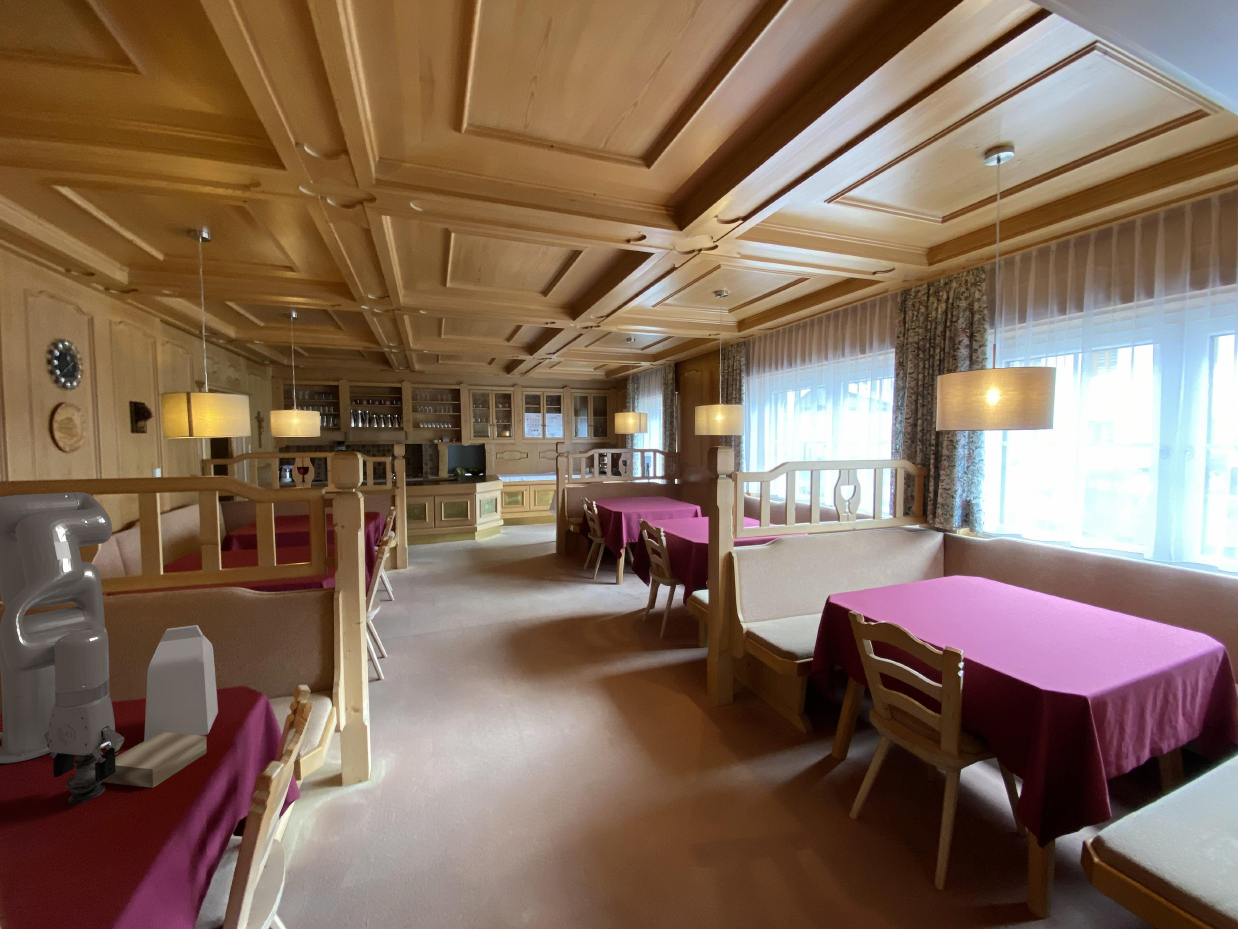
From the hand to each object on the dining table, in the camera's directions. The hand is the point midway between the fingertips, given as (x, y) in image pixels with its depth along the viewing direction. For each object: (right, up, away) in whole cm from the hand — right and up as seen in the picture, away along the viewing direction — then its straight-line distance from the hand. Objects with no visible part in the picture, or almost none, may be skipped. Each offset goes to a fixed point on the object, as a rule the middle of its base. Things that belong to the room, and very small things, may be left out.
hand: (84, 775), depth 102 cm
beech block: (+6, -4, +10) cm, 12 cm away
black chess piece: (0, -5, +1) cm, 5 cm away
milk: (-1, -4, +24) cm, 25 cm away
